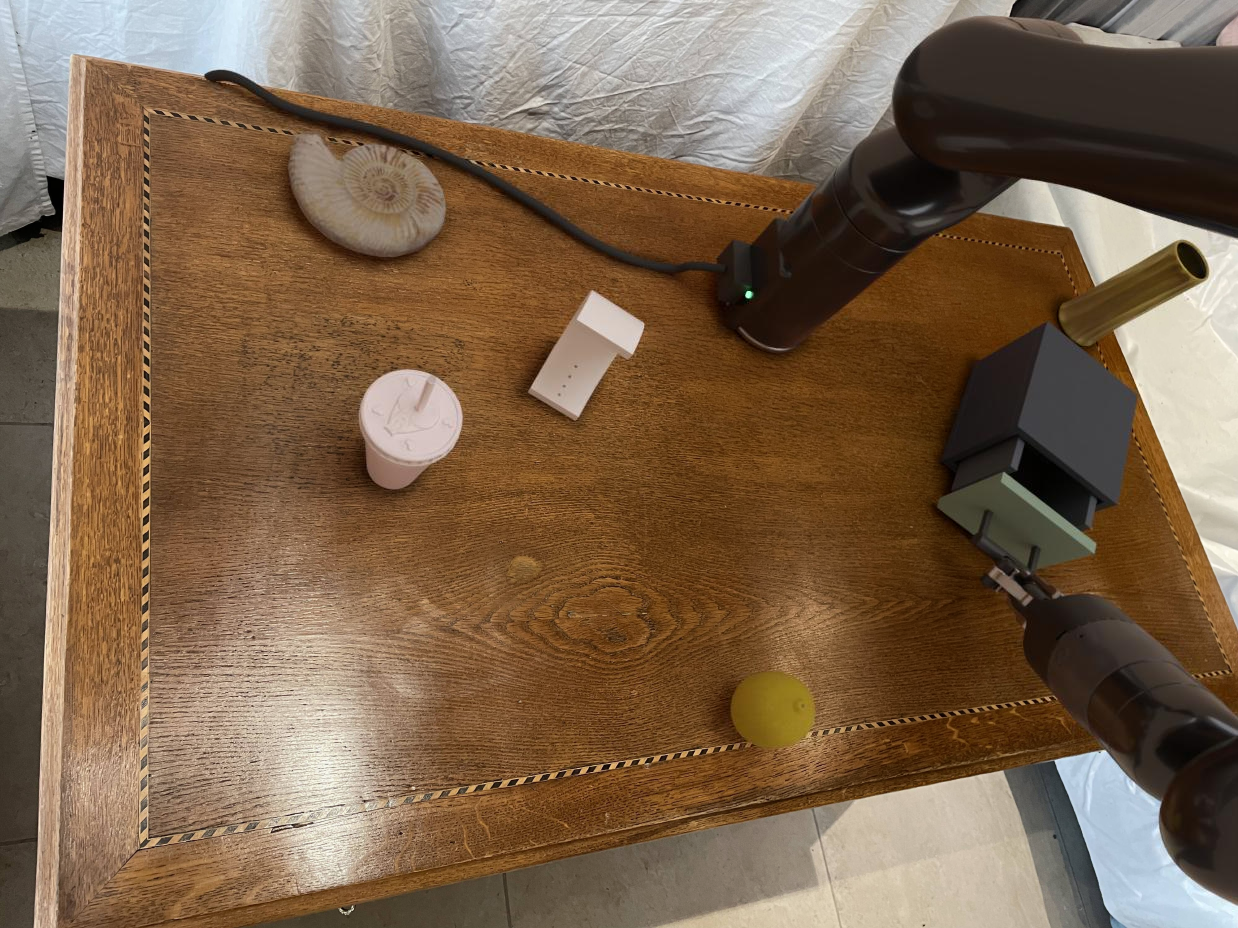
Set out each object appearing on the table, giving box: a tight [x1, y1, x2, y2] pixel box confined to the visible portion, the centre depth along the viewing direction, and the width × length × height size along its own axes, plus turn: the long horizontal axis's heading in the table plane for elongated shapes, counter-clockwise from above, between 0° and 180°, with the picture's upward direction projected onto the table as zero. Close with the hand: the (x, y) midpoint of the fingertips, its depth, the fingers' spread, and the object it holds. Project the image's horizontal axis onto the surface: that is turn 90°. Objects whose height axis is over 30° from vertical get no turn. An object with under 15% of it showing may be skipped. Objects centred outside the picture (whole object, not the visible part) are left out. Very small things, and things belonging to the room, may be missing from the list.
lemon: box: [730, 670, 816, 750], centre depth 58 cm, size 6×6×8 cm
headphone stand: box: [527, 289, 645, 422], centre depth 61 cm, size 5×6×12 cm
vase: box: [1057, 238, 1210, 347], centre depth 91 cm, size 6×6×14 cm
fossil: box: [287, 130, 447, 258], centre depth 63 cm, size 12×5×10 cm
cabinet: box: [940, 320, 1139, 513], centre depth 80 cm, size 15×13×10 cm
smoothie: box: [358, 368, 463, 490], centre depth 52 cm, size 6×6×14 cm
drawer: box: [936, 434, 1097, 575], centre depth 76 cm, size 18×11×8 cm, turn 151°
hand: (1002, 566), depth 71 cm, fingers closed
